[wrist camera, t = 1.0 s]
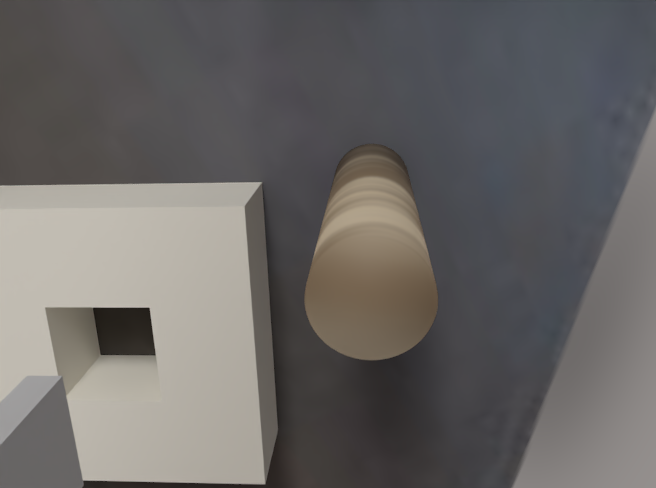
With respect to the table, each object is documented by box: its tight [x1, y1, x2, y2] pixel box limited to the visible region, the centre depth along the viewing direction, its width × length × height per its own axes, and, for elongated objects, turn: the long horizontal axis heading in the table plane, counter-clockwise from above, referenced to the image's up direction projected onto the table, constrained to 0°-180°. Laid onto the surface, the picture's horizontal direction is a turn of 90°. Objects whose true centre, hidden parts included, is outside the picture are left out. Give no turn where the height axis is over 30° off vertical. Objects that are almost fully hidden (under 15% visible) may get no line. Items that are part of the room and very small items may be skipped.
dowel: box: [305, 144, 438, 360], centre depth 26 cm, size 4×4×16 cm
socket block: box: [0, 182, 278, 484], centre depth 35 cm, size 16×16×5 cm
